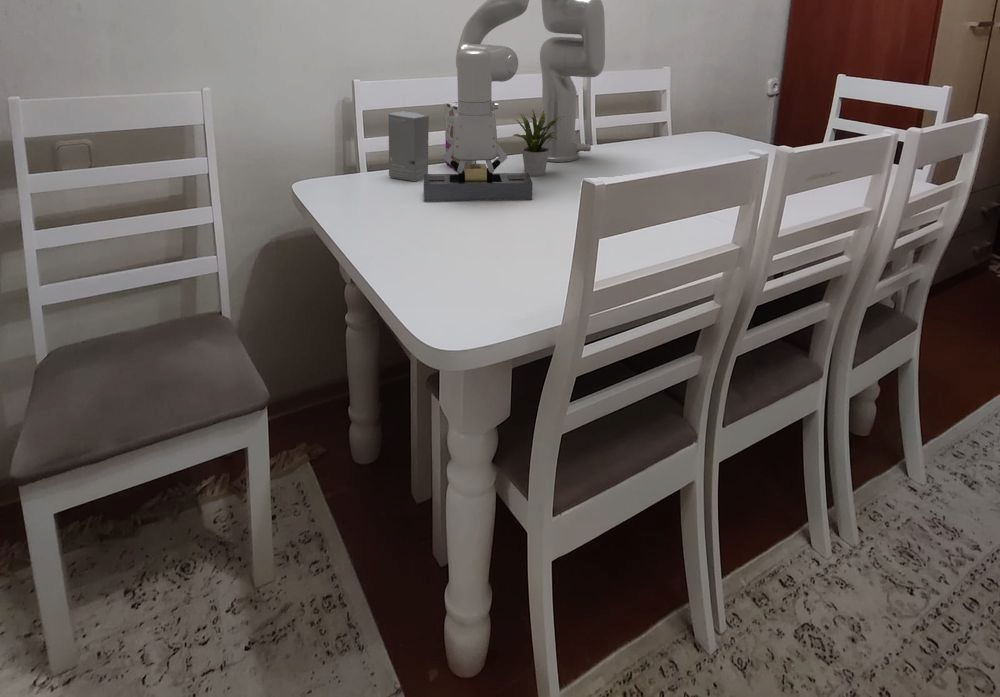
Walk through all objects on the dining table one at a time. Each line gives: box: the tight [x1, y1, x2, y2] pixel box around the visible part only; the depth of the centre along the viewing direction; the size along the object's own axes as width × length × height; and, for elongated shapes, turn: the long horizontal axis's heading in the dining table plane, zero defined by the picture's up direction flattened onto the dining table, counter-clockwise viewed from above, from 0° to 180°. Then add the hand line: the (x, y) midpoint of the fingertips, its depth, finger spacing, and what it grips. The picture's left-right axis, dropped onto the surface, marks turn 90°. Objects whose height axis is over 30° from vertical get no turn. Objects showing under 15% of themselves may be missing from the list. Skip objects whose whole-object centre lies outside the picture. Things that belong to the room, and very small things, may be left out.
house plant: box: [512, 108, 564, 177], centre depth 182 cm, size 14×14×16 cm
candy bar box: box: [444, 101, 477, 171], centre depth 187 cm, size 11×5×16 cm, turn 25°
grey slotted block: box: [423, 172, 533, 202], centre depth 167 cm, size 25×9×4 cm, turn 94°
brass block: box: [464, 163, 488, 182], centre depth 166 cm, size 5×5×6 cm
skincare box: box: [388, 110, 430, 182], centre depth 179 cm, size 8×7×16 cm
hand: (475, 187), depth 167 cm, fingers open, 5 cm apart
